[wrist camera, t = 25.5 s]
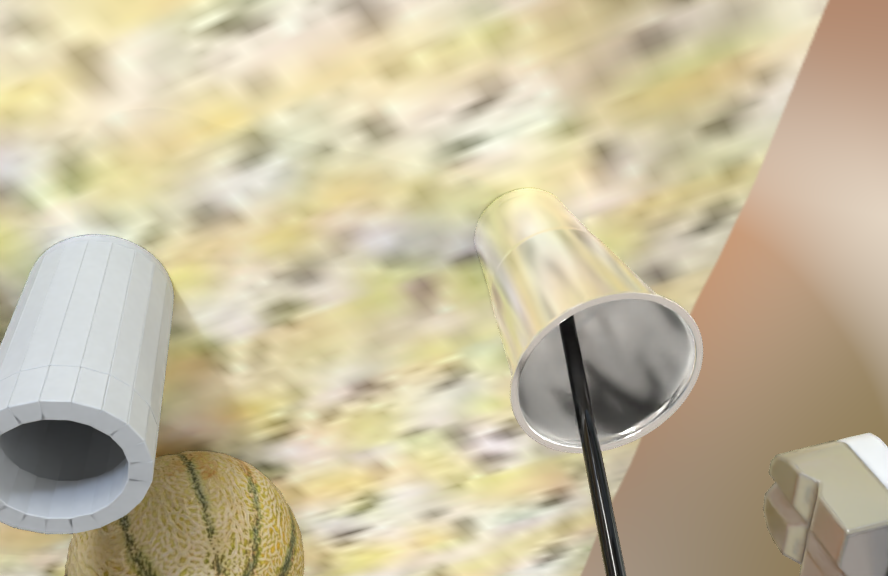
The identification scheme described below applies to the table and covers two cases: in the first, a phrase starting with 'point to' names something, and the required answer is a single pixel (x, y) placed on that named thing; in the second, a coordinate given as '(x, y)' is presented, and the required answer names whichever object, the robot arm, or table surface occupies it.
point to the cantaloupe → (196, 525)
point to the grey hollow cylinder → (83, 385)
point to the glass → (582, 339)
